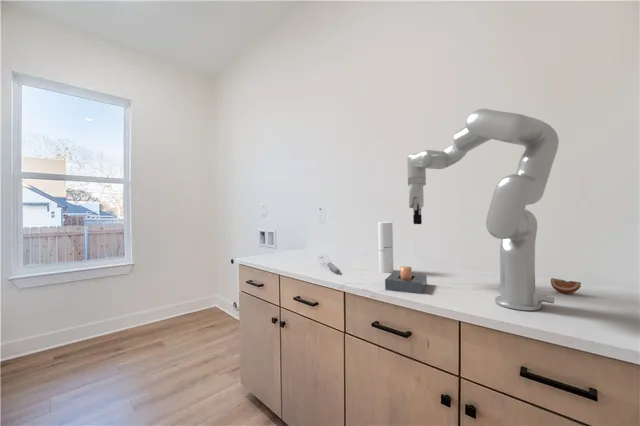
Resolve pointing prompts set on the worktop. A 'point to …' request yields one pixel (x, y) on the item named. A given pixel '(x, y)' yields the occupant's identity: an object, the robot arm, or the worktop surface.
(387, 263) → the cylindrical container
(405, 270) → the plug
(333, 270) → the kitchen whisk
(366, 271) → the worktop surface
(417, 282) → the socket block
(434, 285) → the worktop surface
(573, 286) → the fruit slice
